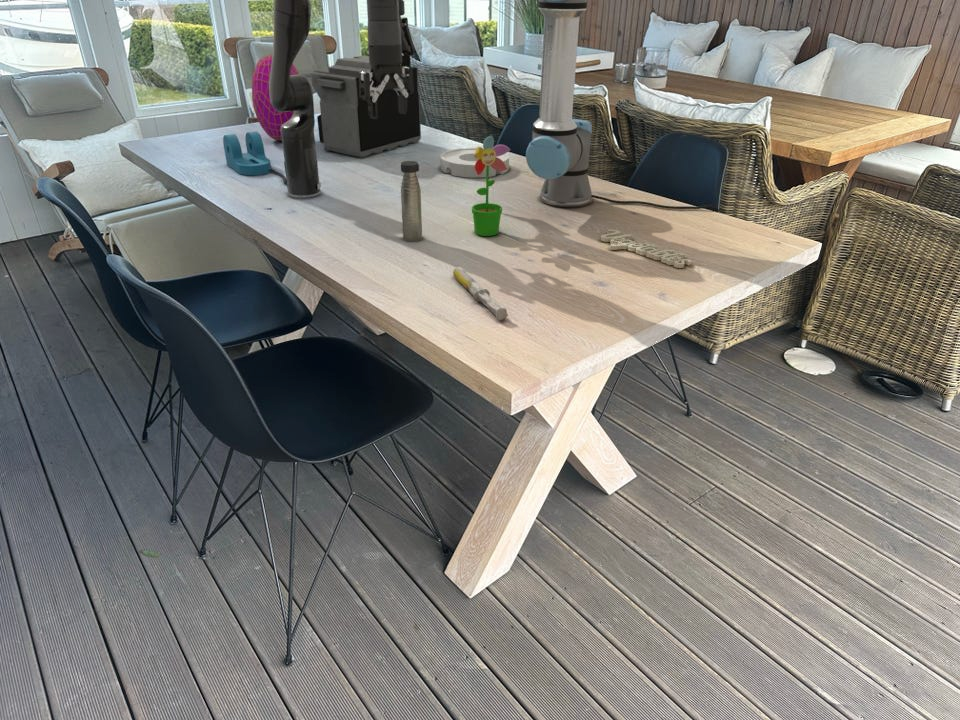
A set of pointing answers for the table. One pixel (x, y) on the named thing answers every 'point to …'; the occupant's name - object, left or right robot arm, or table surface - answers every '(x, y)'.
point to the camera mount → (246, 154)
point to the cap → (409, 166)
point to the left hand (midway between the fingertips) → (388, 116)
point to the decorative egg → (267, 99)
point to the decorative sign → (644, 249)
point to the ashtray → (467, 163)
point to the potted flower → (487, 212)
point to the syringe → (479, 293)
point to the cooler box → (362, 112)
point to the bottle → (411, 207)
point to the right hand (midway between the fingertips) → (394, 83)
